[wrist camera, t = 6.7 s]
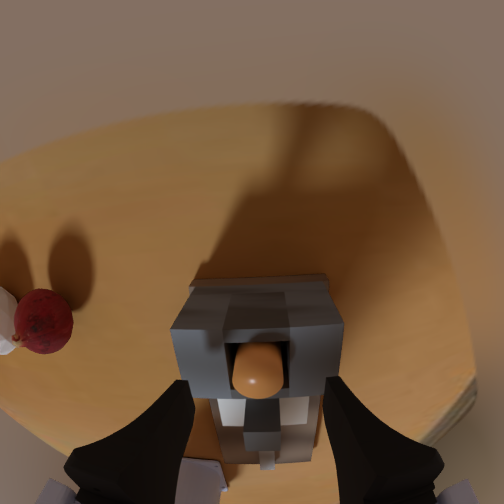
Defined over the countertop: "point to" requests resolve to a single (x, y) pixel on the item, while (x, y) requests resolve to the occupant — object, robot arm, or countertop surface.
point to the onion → (42, 322)
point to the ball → (7, 321)
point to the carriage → (263, 419)
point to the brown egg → (258, 369)
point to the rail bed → (260, 330)
